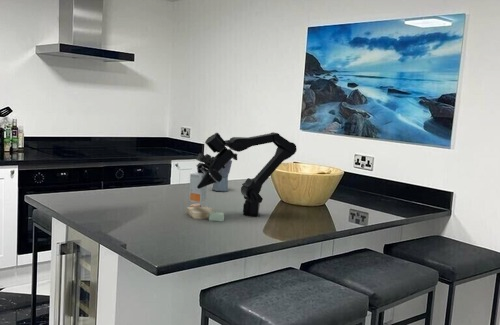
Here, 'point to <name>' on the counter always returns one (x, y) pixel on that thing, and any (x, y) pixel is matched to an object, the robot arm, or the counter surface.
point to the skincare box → (196, 193)
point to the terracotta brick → (195, 205)
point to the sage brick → (216, 216)
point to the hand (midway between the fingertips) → (195, 186)
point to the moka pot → (223, 179)
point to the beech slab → (199, 212)
